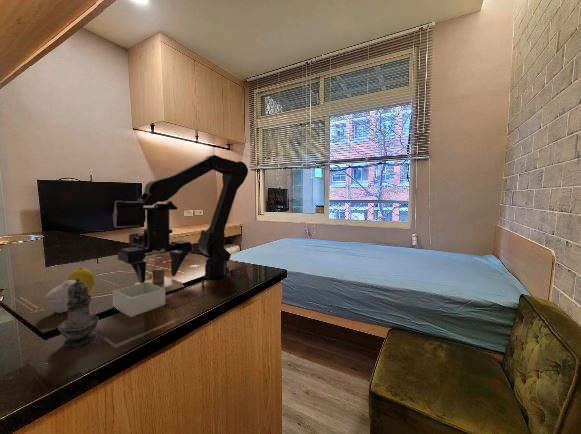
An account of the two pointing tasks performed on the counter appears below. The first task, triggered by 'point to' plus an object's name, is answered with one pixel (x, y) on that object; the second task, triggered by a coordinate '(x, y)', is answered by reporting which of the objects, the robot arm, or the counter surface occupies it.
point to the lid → (163, 280)
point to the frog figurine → (59, 297)
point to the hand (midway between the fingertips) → (158, 280)
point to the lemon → (83, 277)
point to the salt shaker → (78, 318)
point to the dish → (138, 298)
